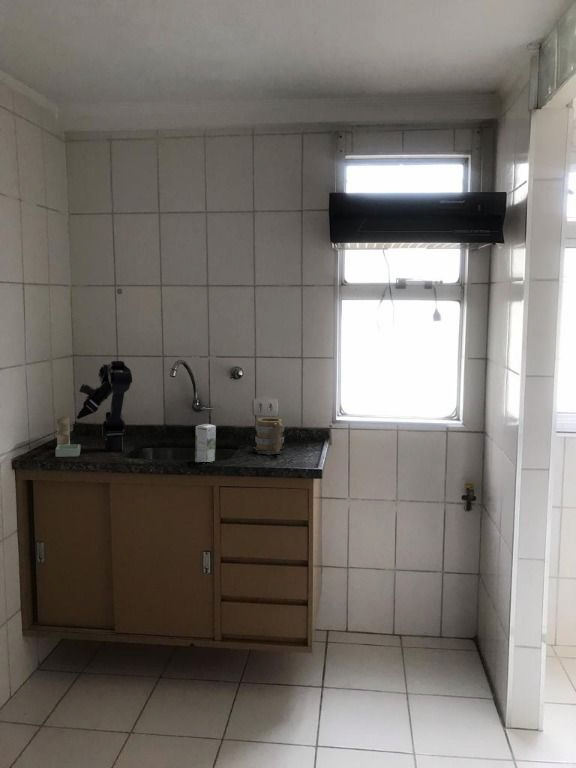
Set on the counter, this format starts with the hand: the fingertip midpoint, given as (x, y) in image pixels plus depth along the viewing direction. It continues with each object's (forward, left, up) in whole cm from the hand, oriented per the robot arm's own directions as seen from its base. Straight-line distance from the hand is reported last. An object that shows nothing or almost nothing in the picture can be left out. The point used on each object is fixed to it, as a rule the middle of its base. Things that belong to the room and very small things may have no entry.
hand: (78, 416), depth 279 cm
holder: (+3, +17, -13) cm, 21 cm away
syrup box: (-50, +37, -13) cm, 64 cm away
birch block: (+6, +5, -13) cm, 15 cm away
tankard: (-79, +26, -13) cm, 85 cm away
